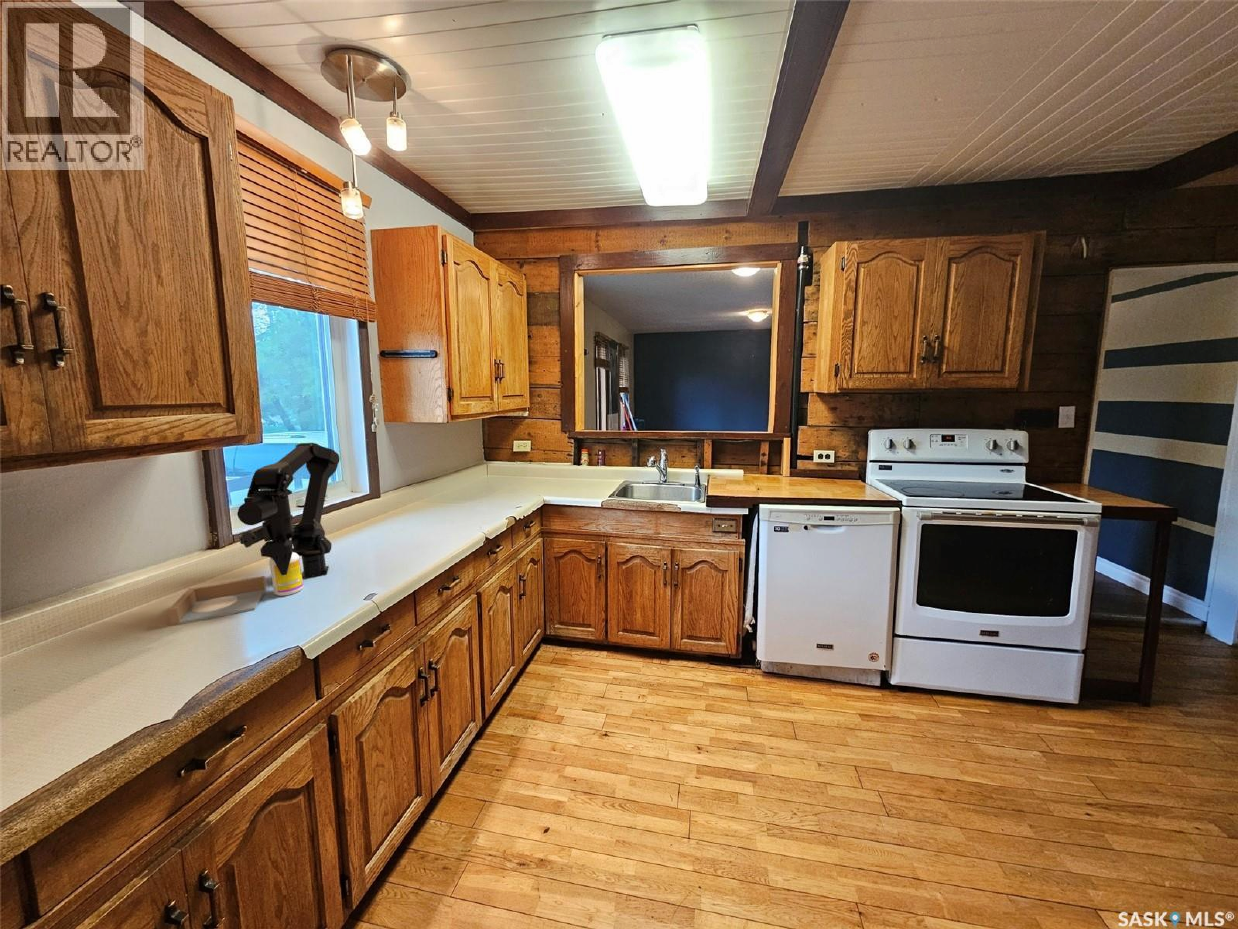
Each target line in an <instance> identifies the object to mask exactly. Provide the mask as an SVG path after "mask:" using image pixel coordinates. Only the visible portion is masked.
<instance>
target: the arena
mask: <svg viewBox="0 0 1238 929" xmlns="http://www.w3.org/2000/svg"><path fill="white" fill-rule="evenodd" d="M266 591H267V587H266V581H265V575H261V576H255V577H250V578H244V579H238V580H237V579H236V580H232V581H226V582H225V581H224V582H220V583H213V584H206V585H202V586H196V587H190V588H188V589H186V591H185V592H184V593H183V594H182V595H181V596H180V597H179V598H178V599H177V600H176V601H175V602H174V603H173V604H172V606H171V607H169V608H168V614H169V620H170V625H171V627H172V626H177V625H182V624H187V623H194V622H198V621H203V620H208V619H213V618H218V617H219V618H220V617H225V616H229V615H234V614H236V615H237V614H239V613H245V612H251V611H255V610H256V608H257V607H258V605H259V603H260V601H261V600H262V598H263V596H264V594H265V592H266Z"/></svg>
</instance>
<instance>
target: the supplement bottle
mask: <svg viewBox="0 0 1238 929" xmlns="http://www.w3.org/2000/svg"><path fill="white" fill-rule="evenodd" d="M292 545H293V544H292ZM268 563H269V568H270V574H271V580H272V581H271V582H272V588H273V593H274V595H276V596H279V597H283V596H284V597H285V596H290V595H294V594H296V593H299V592H301V591H302V590H303V589H304V580H303V579H304V578H302V573H303V572H302V568H301V567H302V565H301V560H300V556H299V555H298V554H297V553H294V552H293V553H292V556H291V560H290V564H289V567H288V571H287V574H286V575H281V573H280V571H279V569H278V567H277V565H276V564H275V562H274V560H273V559H272V558H269V561H268Z"/></svg>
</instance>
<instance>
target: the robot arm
mask: <svg viewBox="0 0 1238 929" xmlns="http://www.w3.org/2000/svg"><path fill="white" fill-rule="evenodd" d="M340 460H341V459H340V455H339V454H338V453H337V452H336V451H335V450H334V449H332V448H329V447H325V446H322V445H319V444H318V443H315V442H300V443H298V444H296V446H295V448H293V449H292V450H290V451H289V453H287V454H286V455H285V456H283V457H282V458H281V459H279V460H278V461H277V462H275V463H271V464H267V465H264V466H262V467H260V468H257V469H256V470H255V471H254V473H253V476H252V479H251V482H250V484H249V488H248V491H247V494H246V497H244V500H243V501H244V503H242V504H241V505H240V506H239V507H238V509H237V517H238V519H239V521H240V522H242V523H243V524H244V525H246V526H255V525H258V524H260V523H261V524H262V525H258V526H257V527H255V528H253V529H248V530H247V531H243V532H242V533H241V535H240V536H239V537H238V539H239V540H240V542H239V543H240V544H241V545H243V546H244V547H245V548H246V549H247V548H250V547H252V545H254V544H257V543H259V542H261V541H264V542H265V543H263V545H262V546H261V548H260V549H259V550H260V556H261V557H266V558H269V559H271V558H272V559H273V560H274V562H275V564H276V565H277V567H278V569H279V571H280V573H281V575H286V574H287V571H288V567H289V564H290V560H291V556H292V553H293V552H294V553H297V554H298V555H299V557H301V563H302V569H303V570H302V572H301V573H302V579H307V578H311V577H317V576H324V575H327V574H328V573H329V565H327V564H326V556H325V555H326V554H329V553H331V550H332V542H331V541H330V540H329V539H328V538H327V537H326V536H325V535H326V531H325V529H324V527H323V526H322V523H321V522H322V516H323V511H324V506H325V501H326V493H327V489H328V485H329V484H328V483H329V479H330V478H331V477H332V476H333V475H334V474H335V472H336V471H337V468H338V466H339V463H340ZM304 465H305V468H306V469H307V471H308V473H309V480H308V484H307V489H306V495H305V500H304V505H303V508H302V509H303V510H302V515H301V520H300V521H299V522H298V523H297V524H296V523H295V524H294V523H293V519H294V516H293V514H292V513H291V506H290V499H289V495H292V494H293V491H292V489H291V490H290V489H288V488H289V486H290V485H291V484H292V482H293V481H294V479H295V478H294V474H295V473H297V471H298V470H299V469H300V470H301V468H302V467H303V466H304ZM292 544H293V545H292Z"/></svg>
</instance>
